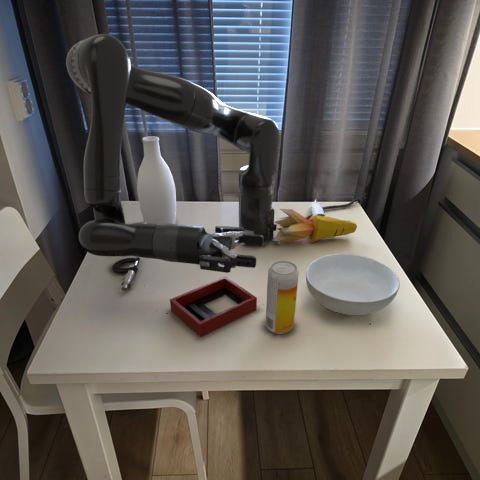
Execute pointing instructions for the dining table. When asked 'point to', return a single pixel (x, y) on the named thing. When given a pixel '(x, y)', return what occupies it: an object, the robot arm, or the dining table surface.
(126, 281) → the micrometer
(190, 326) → the red picture frame
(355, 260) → the serving bowl
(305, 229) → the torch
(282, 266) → the lager tin can
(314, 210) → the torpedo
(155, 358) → the dining table surface
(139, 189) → the bottle
